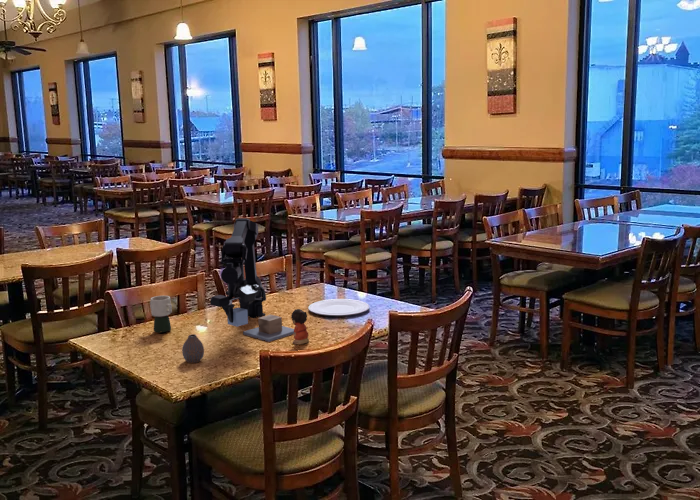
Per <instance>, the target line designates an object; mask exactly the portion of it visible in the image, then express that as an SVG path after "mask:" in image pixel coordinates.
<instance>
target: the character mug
mask: <svg viewBox="0 0 700 500" xmlns="http://www.w3.org/2000/svg"><path fill="white" fill-rule="evenodd" d="M149 306H150V307H149V308H150V311H151V316H152V317H154V320H153V332H155V333H167V332H169V331H172V326H171V320H170V317H169V315H170V314H171V313H173V305H172V301H171V296H169V295H157V296H153V297H150V300H149Z"/></svg>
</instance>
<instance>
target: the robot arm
mask: <svg viewBox="0 0 700 500" xmlns="http://www.w3.org/2000/svg"><path fill="white" fill-rule="evenodd" d="M258 235H259V226H258V224H257V222H255V221H252V220H251V219H250V218H247V217H246V218H235V221H234V222H233V231H232V233H231V237H229V238H226V240H225V241H224V244H223V245H222V249H221V251H222V252H221V261H220V263H221V264H225V267H224V268H223V269H222V270H221V273H220V278H221V279H222V281H223V283H225V284H227V290H226V291H225V295H223V294H217V295H214V296H211V297H210V303H209V304H210V306H215V307H218V308H222V310H223V311H224V313H225V315H226V317H228V319H229V321H230V322H231V323H233V309H234V308H235V306H236V305H235V304H233V301H237V300H238V303H239V304H238V305H239V308H243V309H247V311H248V318H251V319H255V318H260V317H263V316H267V315H266V313H264V311H263V309H264V308H263V306H264V305H263V302H265V301H267V296H266V290H265V288H264V286H263V284H262V280H261V278H260V277H258V274H257V263H256V255H255V254H256V253H255V252H256V251H255V243H256V241H257V237H258ZM228 319H227V320H228Z"/></svg>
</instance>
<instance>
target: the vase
mask: <svg viewBox="0 0 700 500" xmlns="http://www.w3.org/2000/svg"><path fill="white" fill-rule="evenodd" d="M187 336H188V337H187V339H186V340H185V342H184V343H183V345H182V348H181V352H182V357H183V359H184V361H186V362H187V363H189V364H196V363H199V362H201V360H202V359H203V357H204V355H205V347H204V344H203V342H202V341H201V340H200V339H199V338H198V336H197V335H196V334H195V333H193V334H189V335H187Z"/></svg>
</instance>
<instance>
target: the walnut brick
mask: <svg viewBox="0 0 700 500" xmlns="http://www.w3.org/2000/svg"><path fill="white" fill-rule="evenodd" d="M282 318H283V317H281V316H278V315H274V314H268V315H263V316H260V317H257V319H258V327H259V331H260V332H264V333H267V334H272V333H276V332H279V331H282V326H283V319H282Z"/></svg>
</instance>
